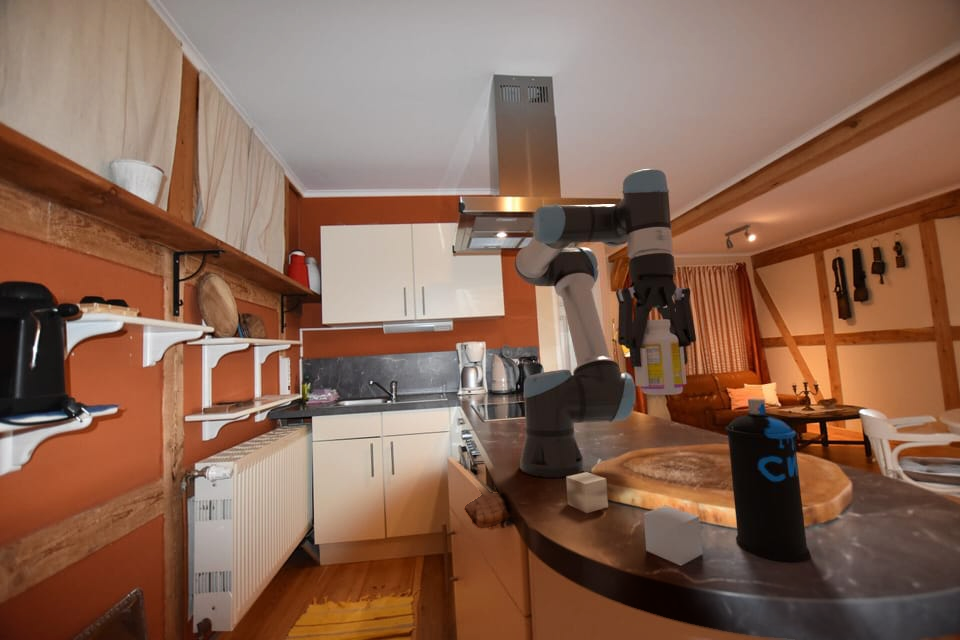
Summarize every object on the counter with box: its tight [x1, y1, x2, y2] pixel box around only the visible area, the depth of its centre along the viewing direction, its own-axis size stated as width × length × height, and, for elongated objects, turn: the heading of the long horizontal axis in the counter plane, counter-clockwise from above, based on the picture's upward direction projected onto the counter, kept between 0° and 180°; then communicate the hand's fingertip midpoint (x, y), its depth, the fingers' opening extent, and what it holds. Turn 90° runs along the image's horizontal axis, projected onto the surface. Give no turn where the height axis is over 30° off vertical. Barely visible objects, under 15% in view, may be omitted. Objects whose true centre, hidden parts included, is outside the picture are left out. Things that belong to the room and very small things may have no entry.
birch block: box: [565, 471, 609, 514], centre depth 72 cm, size 5×5×5 cm
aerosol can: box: [724, 398, 811, 563], centre depth 55 cm, size 8×8×20 cm
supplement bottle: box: [640, 318, 684, 396], centre depth 70 cm, size 7×7×13 cm
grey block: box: [643, 505, 703, 566], centre depth 54 cm, size 5×5×5 cm
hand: (660, 384), depth 70 cm, fingers closed on supplement bottle, 7 cm apart
